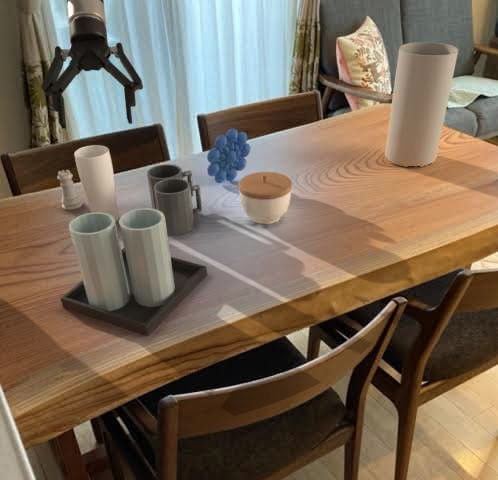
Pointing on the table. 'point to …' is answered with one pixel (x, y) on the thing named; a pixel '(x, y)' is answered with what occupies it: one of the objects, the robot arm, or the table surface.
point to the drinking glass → (97, 178)
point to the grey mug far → (165, 177)
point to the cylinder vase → (419, 102)
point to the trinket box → (265, 196)
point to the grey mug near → (177, 204)
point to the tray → (132, 312)
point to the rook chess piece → (68, 192)
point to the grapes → (228, 156)
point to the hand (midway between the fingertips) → (96, 123)
